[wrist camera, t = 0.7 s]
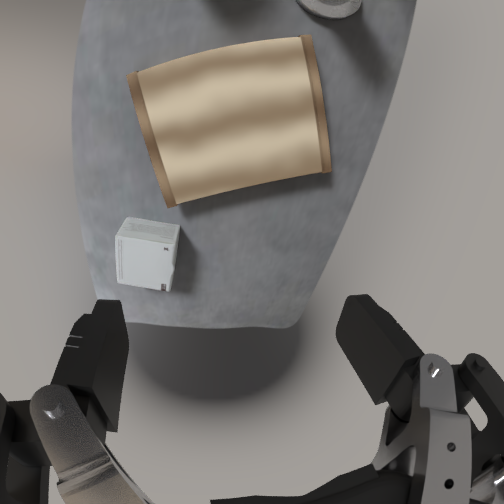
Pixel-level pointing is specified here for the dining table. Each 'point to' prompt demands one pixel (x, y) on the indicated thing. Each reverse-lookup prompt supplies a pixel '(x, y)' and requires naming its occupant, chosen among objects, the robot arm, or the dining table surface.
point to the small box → (146, 253)
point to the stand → (233, 117)
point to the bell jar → (330, 8)
